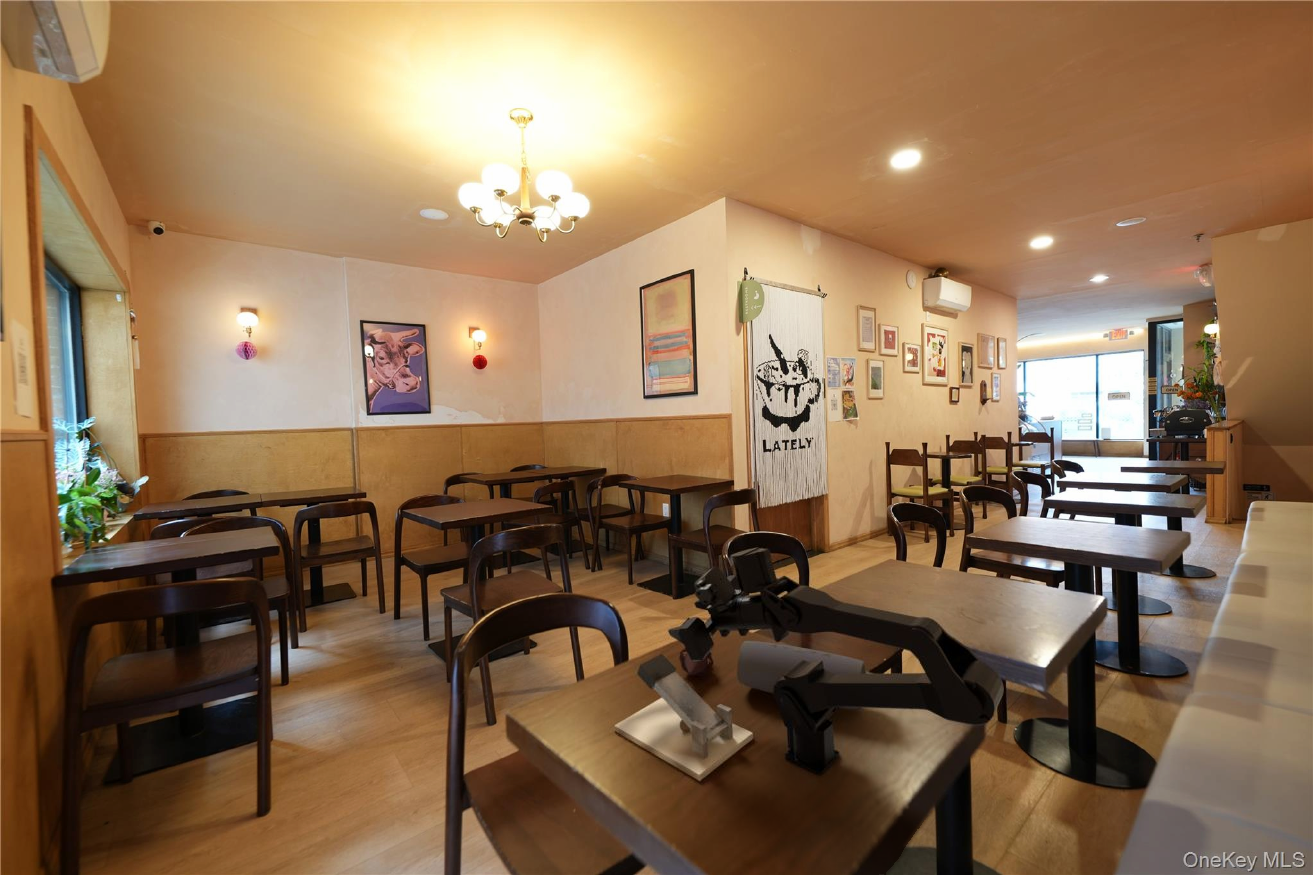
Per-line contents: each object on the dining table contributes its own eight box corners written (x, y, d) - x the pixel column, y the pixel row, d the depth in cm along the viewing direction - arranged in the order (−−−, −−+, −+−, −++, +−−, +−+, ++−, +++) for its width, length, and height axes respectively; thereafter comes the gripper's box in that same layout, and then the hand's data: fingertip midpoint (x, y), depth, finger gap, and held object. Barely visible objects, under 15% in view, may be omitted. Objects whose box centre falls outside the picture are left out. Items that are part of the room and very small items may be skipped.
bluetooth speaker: (868, 701, 103) (866, 649, 102) (860, 727, 95) (858, 671, 94) (753, 677, 114) (751, 630, 114) (737, 698, 106) (734, 648, 106)
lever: (725, 732, 92) (729, 722, 91) (703, 747, 88) (707, 738, 87) (658, 662, 102) (661, 653, 102) (637, 673, 98) (640, 664, 98)
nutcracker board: (753, 738, 93) (751, 704, 93) (699, 780, 83) (697, 743, 83) (668, 698, 107) (667, 669, 107) (614, 730, 98) (612, 698, 97)
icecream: (712, 662, 108) (720, 637, 123) (676, 651, 110) (688, 627, 124) (705, 696, 108) (714, 666, 123) (669, 684, 110) (682, 657, 125)
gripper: (754, 545, 100) (691, 556, 110) (702, 600, 86) (635, 607, 96) (779, 599, 101) (713, 605, 111) (731, 662, 86) (661, 663, 97)
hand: (682, 618), depth 104 cm, fingers open, 9 cm apart
